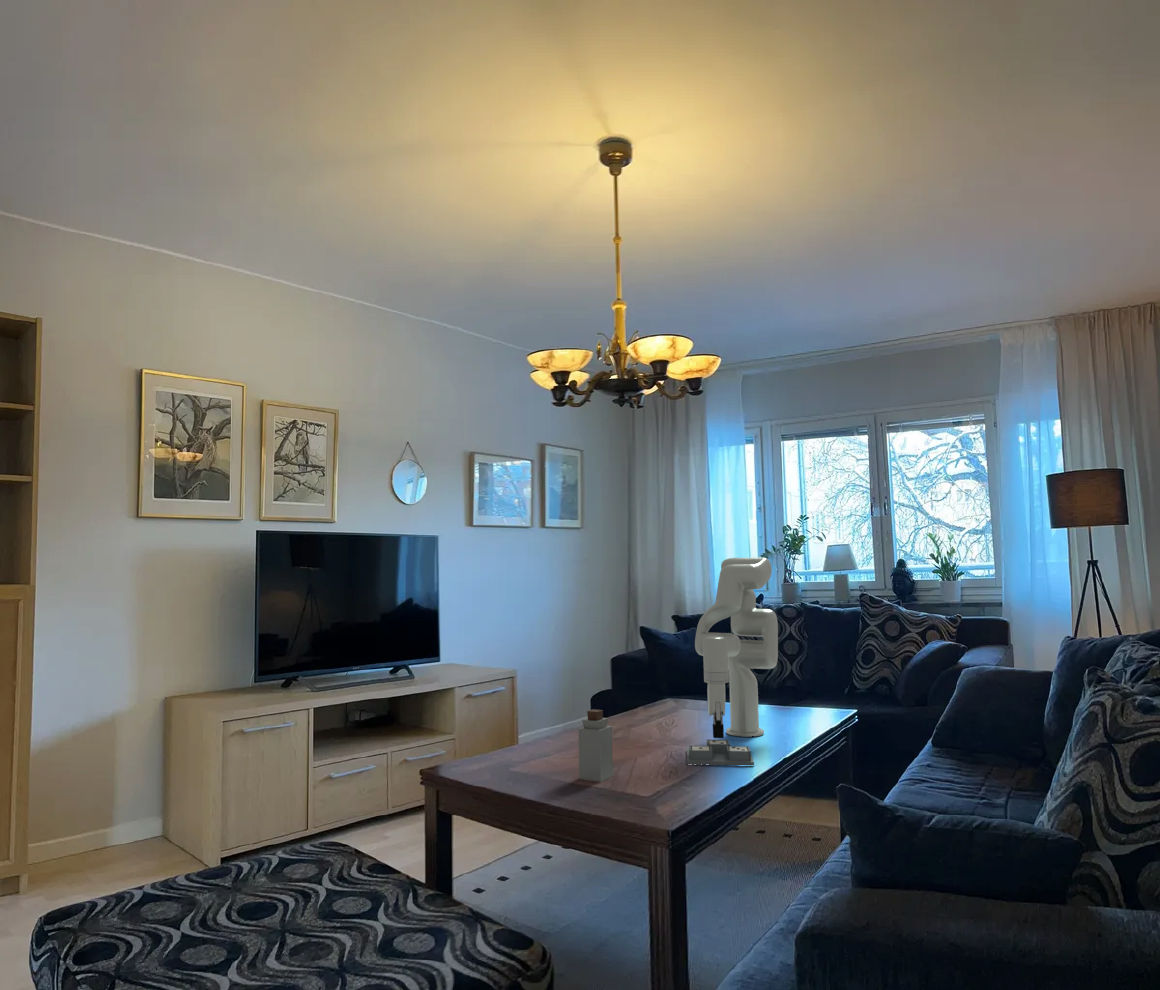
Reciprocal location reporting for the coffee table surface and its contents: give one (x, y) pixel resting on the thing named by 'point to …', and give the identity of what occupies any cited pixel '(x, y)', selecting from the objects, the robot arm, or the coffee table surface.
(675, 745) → the coffee table surface
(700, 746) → the button one
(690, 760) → the button board
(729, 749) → the button three
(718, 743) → the button two
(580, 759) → the perfume bottle
